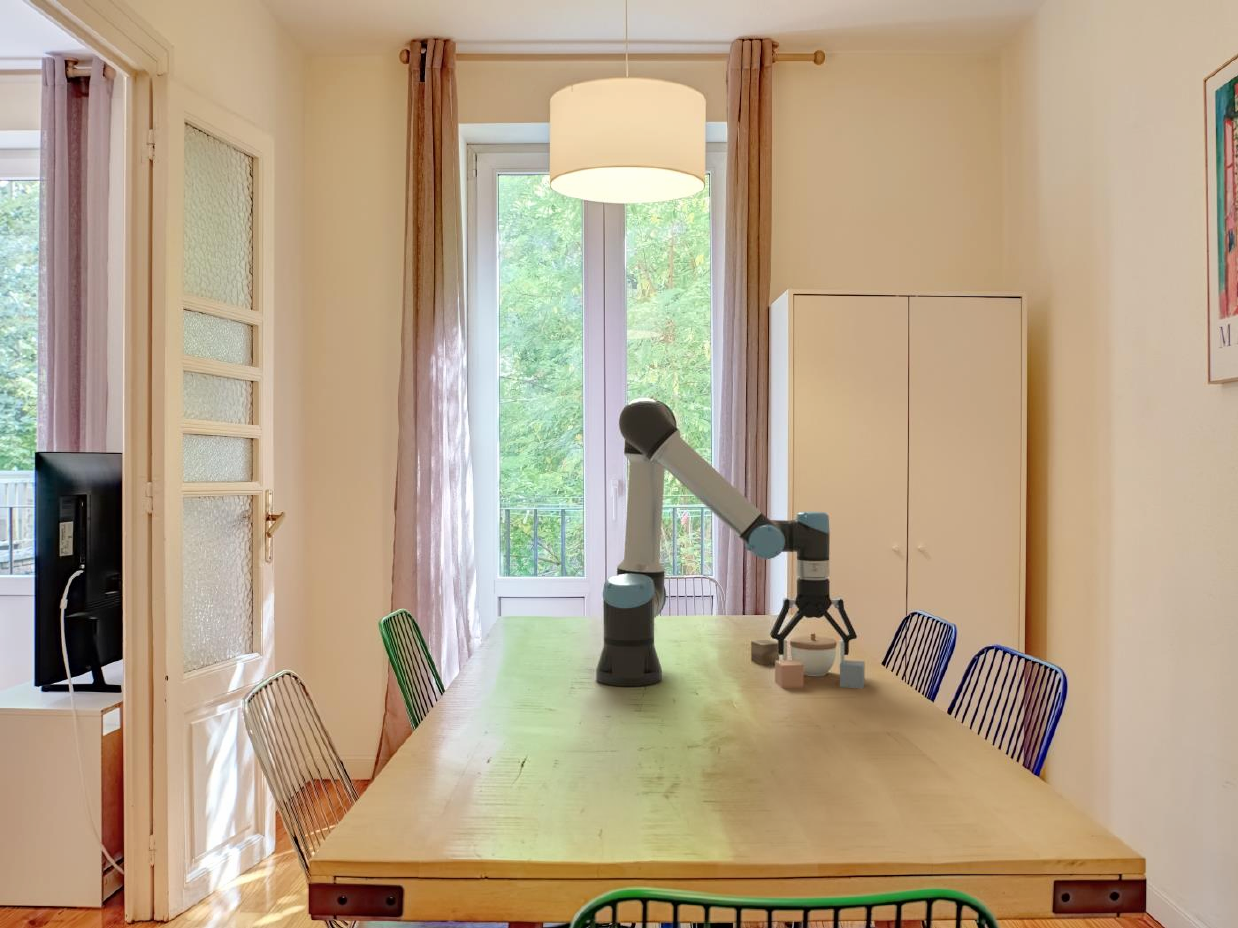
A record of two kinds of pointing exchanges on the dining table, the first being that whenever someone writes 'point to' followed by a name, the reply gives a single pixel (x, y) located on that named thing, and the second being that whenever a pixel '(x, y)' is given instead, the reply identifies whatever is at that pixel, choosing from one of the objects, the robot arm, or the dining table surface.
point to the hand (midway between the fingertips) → (813, 668)
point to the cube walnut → (764, 652)
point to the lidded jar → (814, 654)
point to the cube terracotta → (789, 673)
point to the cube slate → (852, 674)
